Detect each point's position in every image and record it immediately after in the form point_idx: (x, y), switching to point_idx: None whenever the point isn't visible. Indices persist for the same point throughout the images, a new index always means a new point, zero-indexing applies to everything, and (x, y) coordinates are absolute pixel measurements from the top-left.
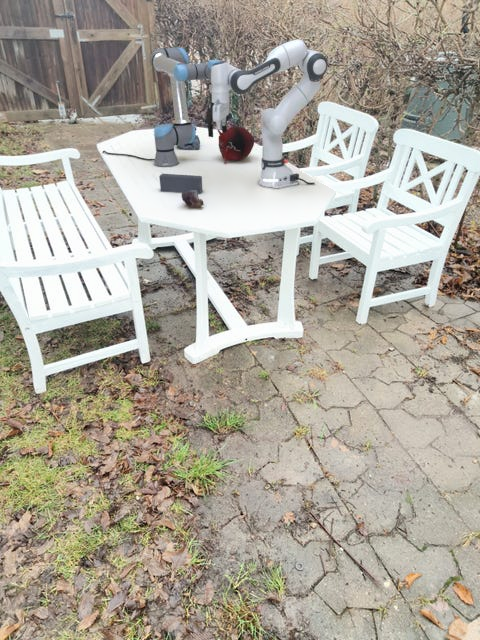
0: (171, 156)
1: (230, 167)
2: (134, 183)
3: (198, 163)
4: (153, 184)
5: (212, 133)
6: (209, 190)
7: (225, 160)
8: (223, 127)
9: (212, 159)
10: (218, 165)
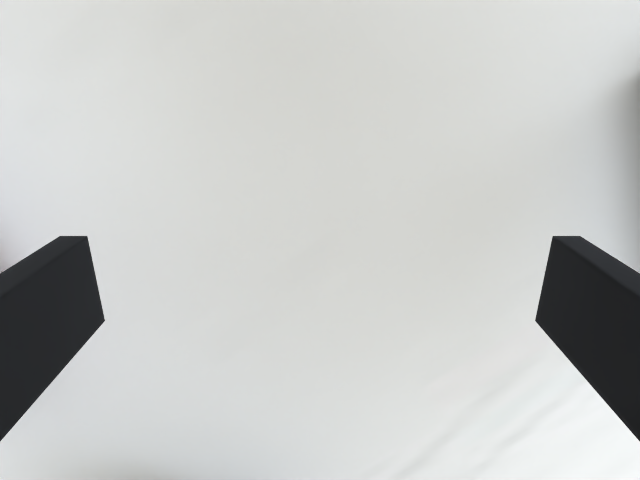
0: None
1: (71, 215)
2: (623, 474)
3: (144, 423)
4: None
5: (618, 265)
6: (612, 32)
7: None
8: (45, 339)
9: None
10: None
